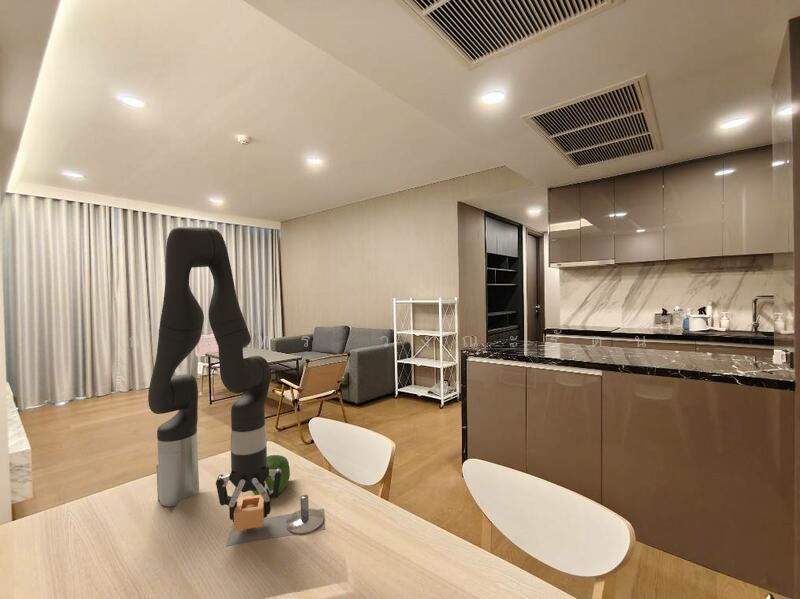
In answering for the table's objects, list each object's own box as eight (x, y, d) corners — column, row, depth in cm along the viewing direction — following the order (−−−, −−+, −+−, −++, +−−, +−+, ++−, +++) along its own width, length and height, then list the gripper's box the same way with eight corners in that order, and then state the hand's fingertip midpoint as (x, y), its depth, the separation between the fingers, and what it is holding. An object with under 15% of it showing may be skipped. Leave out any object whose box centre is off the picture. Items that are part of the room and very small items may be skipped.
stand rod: (246, 533, 83) (245, 509, 83) (247, 528, 85) (246, 505, 85) (254, 532, 84) (253, 508, 83) (255, 527, 85) (255, 503, 85)
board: (225, 552, 79) (225, 546, 79) (233, 529, 87) (232, 522, 87) (325, 535, 84) (325, 529, 84) (323, 514, 92) (323, 508, 92)
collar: (234, 530, 81) (233, 513, 81) (238, 514, 87) (238, 497, 86) (263, 526, 82) (262, 508, 82) (266, 510, 88) (265, 493, 88)
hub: (284, 537, 82) (284, 510, 82) (286, 513, 90) (286, 489, 90) (324, 530, 84) (323, 504, 84) (322, 508, 92) (322, 484, 92)
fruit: (267, 476, 111) (266, 443, 111) (299, 477, 110) (298, 444, 110) (241, 506, 96) (240, 469, 95) (279, 508, 95) (278, 470, 95)
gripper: (209, 457, 78) (212, 534, 79) (281, 449, 82) (282, 522, 83) (218, 442, 85) (220, 512, 86) (283, 435, 89) (284, 503, 90)
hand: (250, 517), depth 84 cm, fingers closed on collar, 6 cm apart
